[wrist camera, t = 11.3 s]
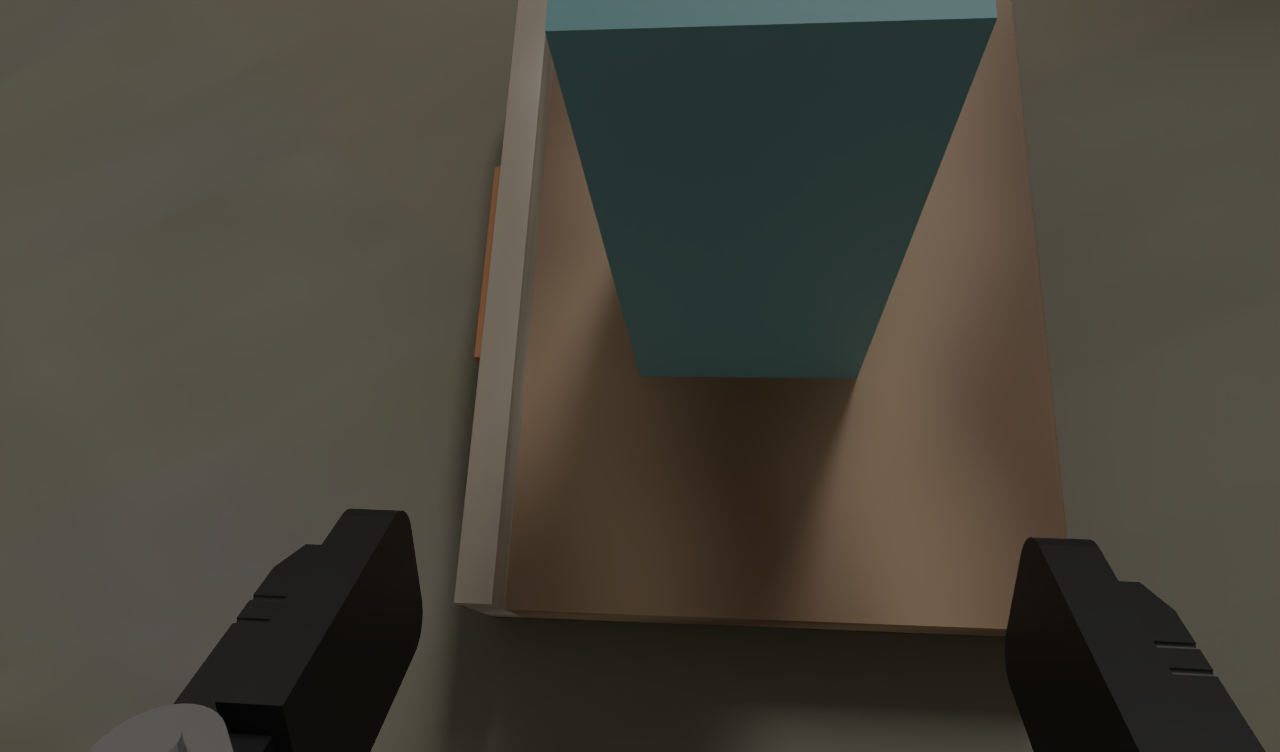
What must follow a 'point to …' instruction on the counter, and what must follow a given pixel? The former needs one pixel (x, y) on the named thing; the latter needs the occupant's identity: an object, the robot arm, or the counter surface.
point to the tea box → (761, 165)
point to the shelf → (761, 413)
